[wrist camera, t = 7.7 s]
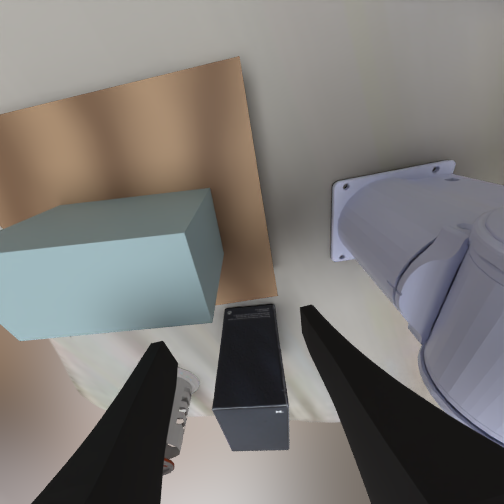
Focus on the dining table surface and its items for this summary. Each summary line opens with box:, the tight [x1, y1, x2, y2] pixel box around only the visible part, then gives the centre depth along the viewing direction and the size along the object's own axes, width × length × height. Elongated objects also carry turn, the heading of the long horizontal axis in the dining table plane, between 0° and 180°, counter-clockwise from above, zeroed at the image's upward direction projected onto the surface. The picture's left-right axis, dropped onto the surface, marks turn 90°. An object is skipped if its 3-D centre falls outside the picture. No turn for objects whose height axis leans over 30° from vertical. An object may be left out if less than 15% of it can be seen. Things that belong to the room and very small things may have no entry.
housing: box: [0, 188, 224, 341], centre depth 12 cm, size 11×5×6 cm, turn 96°
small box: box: [212, 305, 289, 451], centre depth 23 cm, size 11×6×10 cm, turn 6°
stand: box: [0, 56, 278, 305], centre depth 16 cm, size 18×16×4 cm
